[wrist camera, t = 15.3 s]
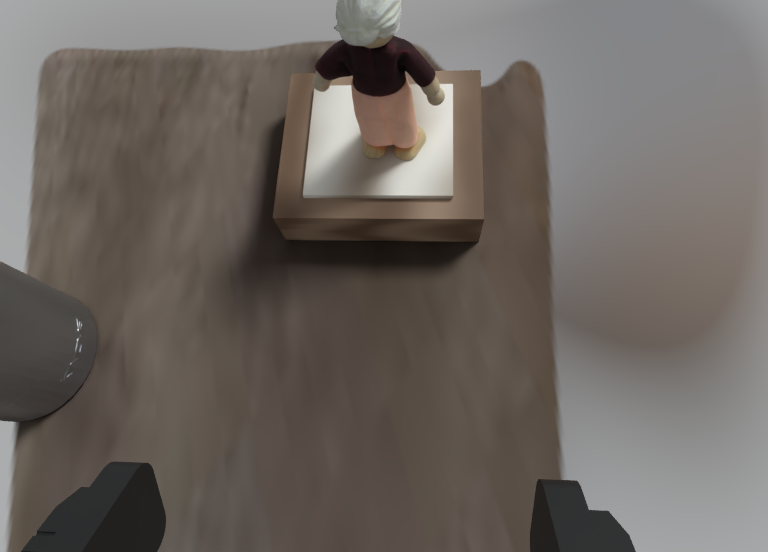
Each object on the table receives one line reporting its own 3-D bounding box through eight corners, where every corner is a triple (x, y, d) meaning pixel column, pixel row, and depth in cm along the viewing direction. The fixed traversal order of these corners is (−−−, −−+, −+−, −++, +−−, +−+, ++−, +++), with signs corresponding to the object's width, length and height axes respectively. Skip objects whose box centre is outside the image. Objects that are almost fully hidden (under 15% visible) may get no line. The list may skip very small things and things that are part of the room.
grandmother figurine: (439, 114, 36) (445, -57, 25) (442, 162, 35) (451, 5, 23) (329, 122, 37) (284, -43, 25) (329, 169, 36) (281, 19, 24)
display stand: (285, 239, 38) (270, 215, 35) (301, 104, 43) (289, 69, 39) (478, 241, 37) (484, 216, 34) (475, 102, 41) (480, 66, 38)
